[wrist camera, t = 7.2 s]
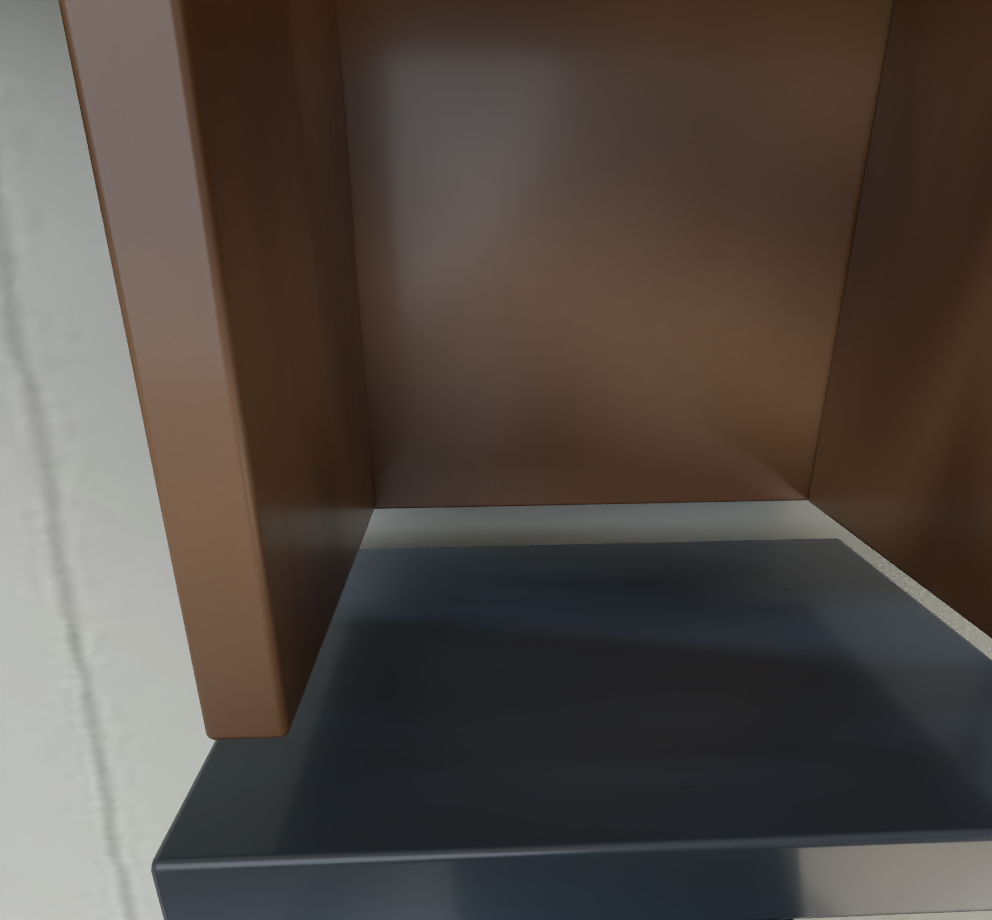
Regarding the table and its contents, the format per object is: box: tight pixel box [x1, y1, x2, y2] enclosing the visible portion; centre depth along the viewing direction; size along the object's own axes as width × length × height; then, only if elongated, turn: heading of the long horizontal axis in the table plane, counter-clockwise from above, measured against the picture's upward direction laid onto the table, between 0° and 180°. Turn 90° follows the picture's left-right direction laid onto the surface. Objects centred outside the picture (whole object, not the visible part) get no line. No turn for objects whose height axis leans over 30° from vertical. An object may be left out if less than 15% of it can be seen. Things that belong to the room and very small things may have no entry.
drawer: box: [59, 0, 992, 920], centre depth 8 cm, size 18×11×7 cm, turn 0°
